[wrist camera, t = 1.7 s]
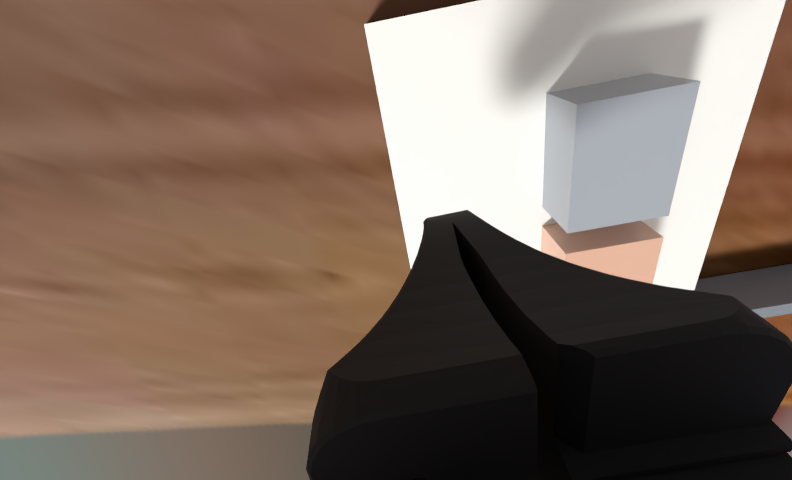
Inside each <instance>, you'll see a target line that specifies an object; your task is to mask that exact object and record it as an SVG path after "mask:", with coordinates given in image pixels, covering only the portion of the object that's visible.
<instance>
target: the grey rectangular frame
mask: <svg viewBox="0 0 792 480" xmlns="http://www.w3.org/2000/svg"><path fill="white" fill-rule="evenodd" d="M694 291H701V292H708V293H715V294H722V295H729V296H733V297H734V298H736V299H737V300H739V301H740V302H742V303H743V304H744V305H746V306H747V307H748V308H750V309H751V310H752V311H754V312H755V313H756V314H758V315H759V316H760V317H762V318H765V317H771V316H777V315H784V314H790V313H792V264H787V265H781V266H775V267H769V268H763V269H757V270H751V271H745V272H739V273H733V274H727V275H721V276H715V277H709V278H703V279H698V280H697V284H696V287H695V290H694Z"/></svg>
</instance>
